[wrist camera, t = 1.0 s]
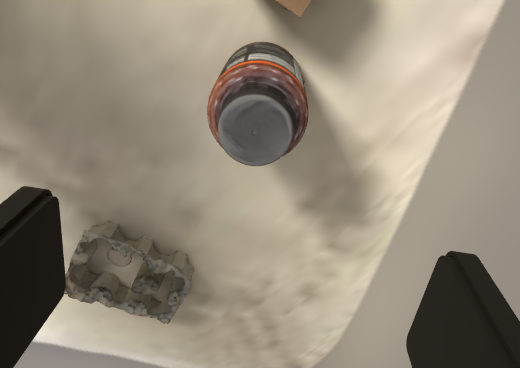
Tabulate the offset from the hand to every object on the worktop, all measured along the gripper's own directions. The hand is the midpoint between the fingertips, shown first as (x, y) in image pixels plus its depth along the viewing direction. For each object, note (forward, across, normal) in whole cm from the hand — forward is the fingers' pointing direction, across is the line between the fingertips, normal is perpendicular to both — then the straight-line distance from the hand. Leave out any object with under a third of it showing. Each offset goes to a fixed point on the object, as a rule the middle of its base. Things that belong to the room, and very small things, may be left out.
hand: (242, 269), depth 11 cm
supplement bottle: (+24, +1, +1) cm, 24 cm away
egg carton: (+24, +10, +20) cm, 33 cm away
